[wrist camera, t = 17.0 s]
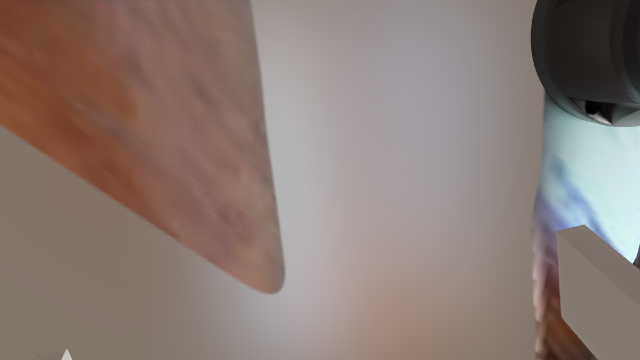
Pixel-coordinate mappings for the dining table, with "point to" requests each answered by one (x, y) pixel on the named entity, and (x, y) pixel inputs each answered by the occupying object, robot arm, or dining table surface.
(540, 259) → the dining table surface
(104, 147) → the dining table surface
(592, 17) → the robot arm
